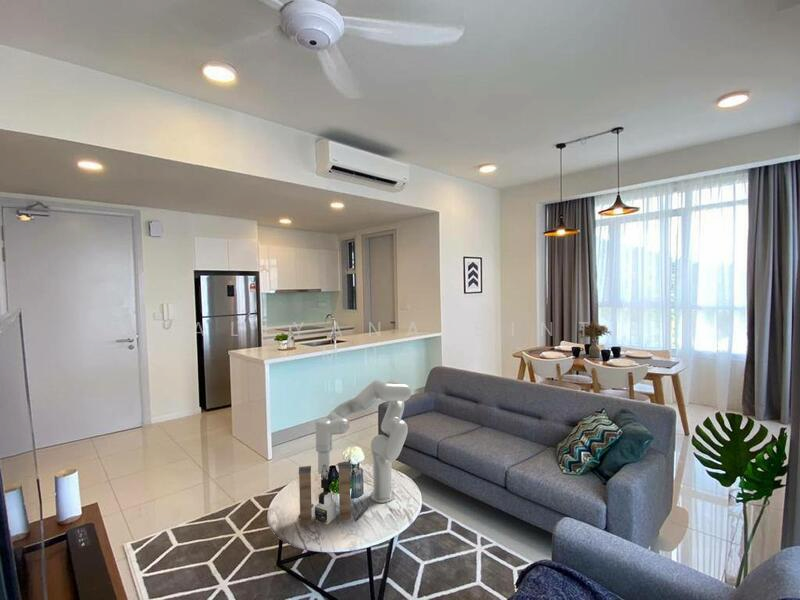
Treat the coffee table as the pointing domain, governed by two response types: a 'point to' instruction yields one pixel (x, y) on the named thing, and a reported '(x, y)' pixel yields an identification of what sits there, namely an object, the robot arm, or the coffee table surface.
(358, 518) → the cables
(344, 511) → the post
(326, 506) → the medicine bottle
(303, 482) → the post
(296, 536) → the coffee table surface
